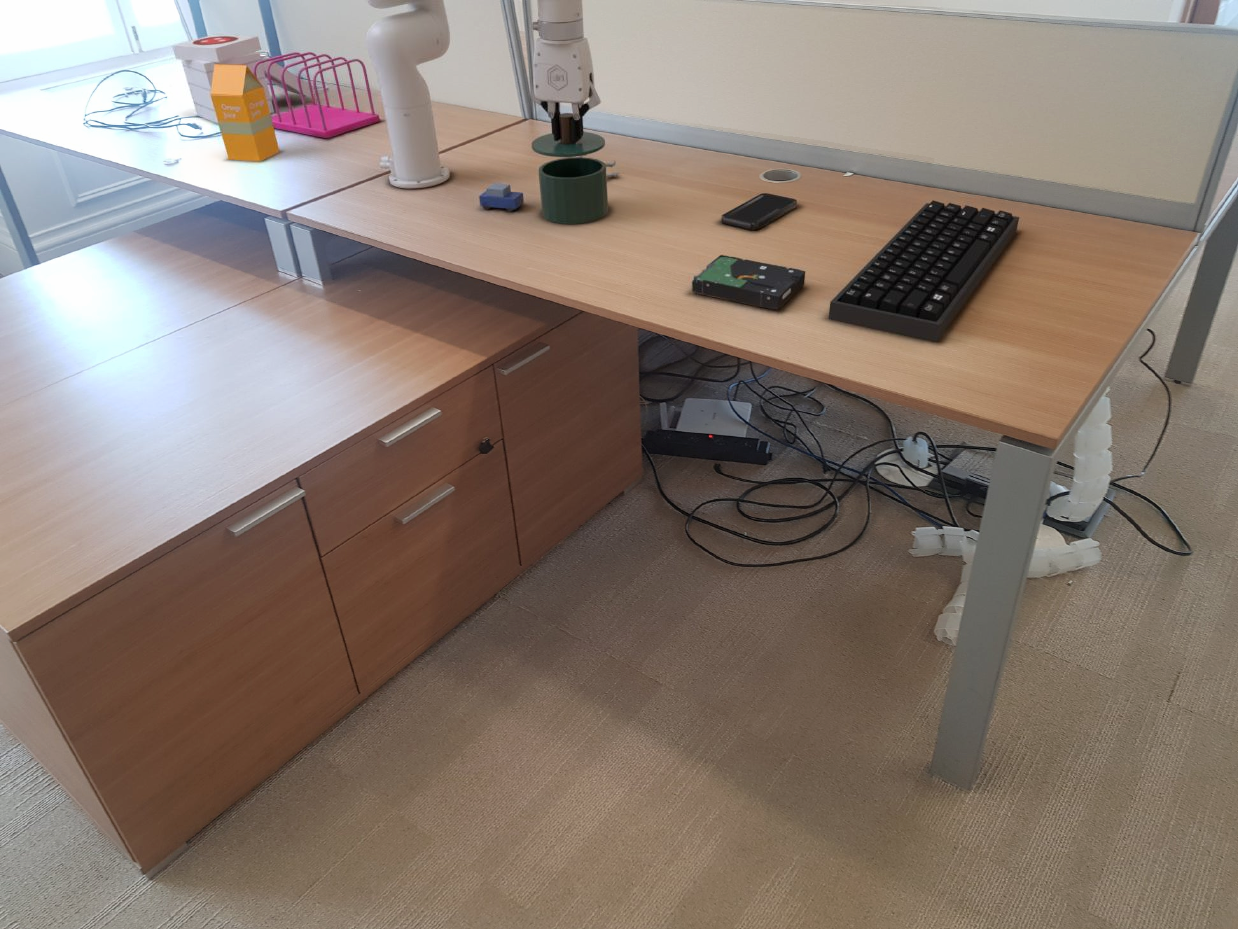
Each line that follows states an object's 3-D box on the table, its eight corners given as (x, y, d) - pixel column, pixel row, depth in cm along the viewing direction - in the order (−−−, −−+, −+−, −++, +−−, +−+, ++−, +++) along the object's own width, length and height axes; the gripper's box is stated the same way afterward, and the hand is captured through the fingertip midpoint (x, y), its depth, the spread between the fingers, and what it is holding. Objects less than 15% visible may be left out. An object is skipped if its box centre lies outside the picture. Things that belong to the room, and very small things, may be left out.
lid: (519, 156, 168) (516, 122, 165) (550, 135, 178) (547, 102, 175) (588, 163, 164) (586, 128, 161) (615, 140, 174) (614, 107, 171)
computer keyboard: (936, 342, 130) (941, 317, 128) (828, 318, 137) (830, 294, 135) (1016, 232, 161) (1020, 210, 158) (924, 217, 168) (927, 196, 166)
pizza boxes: (321, 103, 255) (306, 31, 245) (216, 128, 239) (194, 52, 228) (288, 92, 267) (272, 23, 256) (185, 115, 251) (163, 43, 240)
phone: (719, 216, 169) (763, 192, 179) (719, 222, 170) (763, 197, 179) (756, 225, 165) (799, 199, 174) (756, 231, 166) (799, 205, 175)
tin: (532, 220, 175) (527, 175, 170) (558, 198, 185) (555, 155, 180) (593, 226, 171) (590, 180, 166) (617, 203, 181) (615, 159, 176)
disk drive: (805, 286, 147) (719, 269, 153) (806, 270, 145) (720, 252, 152) (778, 313, 140) (690, 293, 146) (780, 296, 138) (690, 276, 145)
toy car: (480, 209, 182) (477, 188, 179) (489, 202, 185) (486, 181, 182) (515, 212, 179) (513, 191, 177) (524, 205, 182) (522, 184, 180)
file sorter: (327, 139, 225) (311, 70, 216) (262, 126, 238) (245, 61, 229) (380, 121, 237) (368, 55, 228) (316, 110, 249) (302, 46, 240)
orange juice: (259, 161, 213) (235, 68, 202) (227, 159, 216) (201, 67, 204) (280, 151, 219) (257, 60, 208) (249, 149, 222) (224, 59, 210)
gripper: (508, 32, 159) (518, 142, 170) (597, 37, 154) (602, 149, 165) (527, 23, 165) (536, 130, 176) (613, 28, 160) (617, 137, 171)
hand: (568, 138), depth 170 cm, fingers closed on lid, 2 cm apart
